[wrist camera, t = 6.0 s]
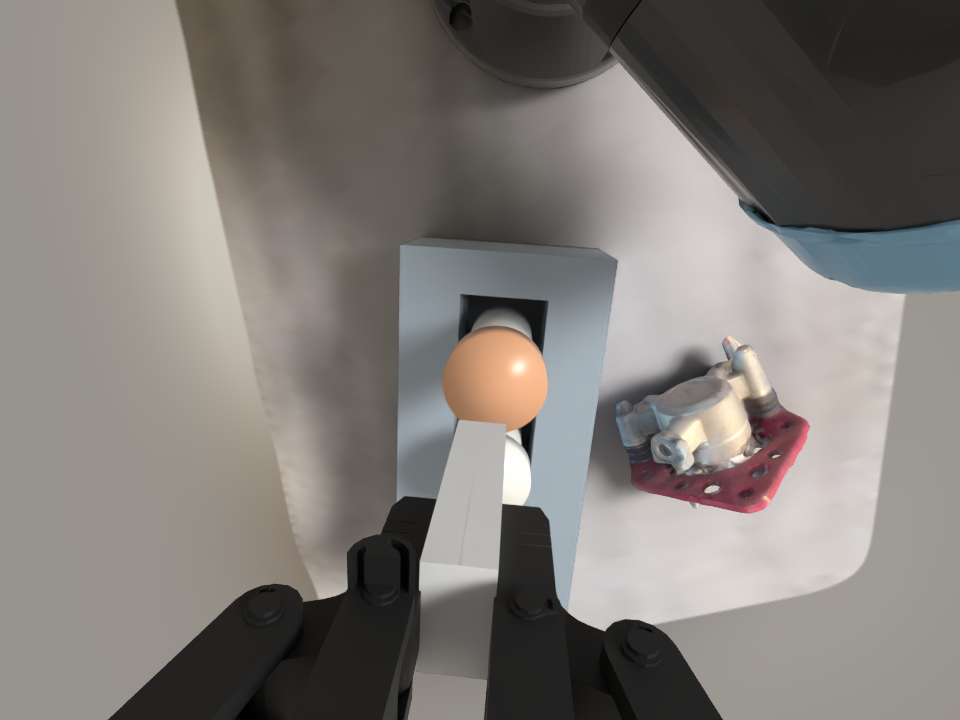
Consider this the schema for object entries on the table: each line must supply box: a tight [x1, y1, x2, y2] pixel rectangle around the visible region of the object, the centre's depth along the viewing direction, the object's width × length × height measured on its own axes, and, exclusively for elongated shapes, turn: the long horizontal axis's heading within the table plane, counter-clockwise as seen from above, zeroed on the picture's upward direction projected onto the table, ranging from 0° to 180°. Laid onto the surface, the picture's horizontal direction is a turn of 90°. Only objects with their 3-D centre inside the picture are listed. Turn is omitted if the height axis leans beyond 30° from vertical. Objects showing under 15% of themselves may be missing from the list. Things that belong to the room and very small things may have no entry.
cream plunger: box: [502, 428, 531, 506], centre depth 32 cm, size 5×5×9 cm
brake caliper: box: [616, 336, 810, 513], centre depth 33 cm, size 11×11×12 cm
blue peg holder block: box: [397, 237, 618, 611], centre depth 35 cm, size 24×12×7 cm, turn 176°
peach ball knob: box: [443, 305, 548, 432], centre depth 26 cm, size 5×5×9 cm
